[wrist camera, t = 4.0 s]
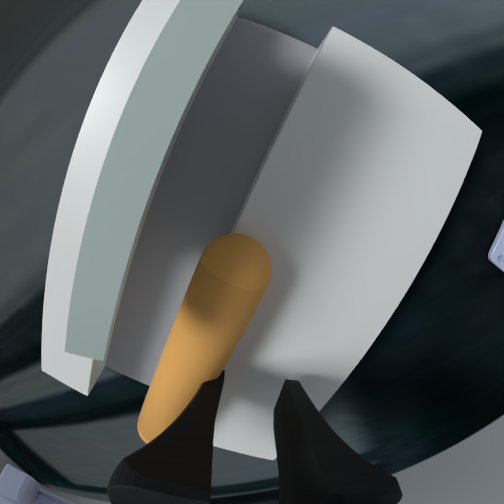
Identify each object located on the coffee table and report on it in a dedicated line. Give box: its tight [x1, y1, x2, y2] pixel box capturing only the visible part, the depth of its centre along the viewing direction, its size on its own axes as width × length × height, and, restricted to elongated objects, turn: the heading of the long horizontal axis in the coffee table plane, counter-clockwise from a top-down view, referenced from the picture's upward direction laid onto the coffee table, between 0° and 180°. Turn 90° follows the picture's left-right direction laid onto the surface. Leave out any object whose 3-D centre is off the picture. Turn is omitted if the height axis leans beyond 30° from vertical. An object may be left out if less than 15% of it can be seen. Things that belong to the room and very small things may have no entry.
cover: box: [65, 0, 243, 361], centre depth 7 cm, size 6×10×1 cm
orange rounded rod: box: [137, 233, 272, 444], centre depth 12 cm, size 2×12×2 cm
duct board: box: [42, 0, 482, 460], centre depth 14 cm, size 15×21×4 cm
